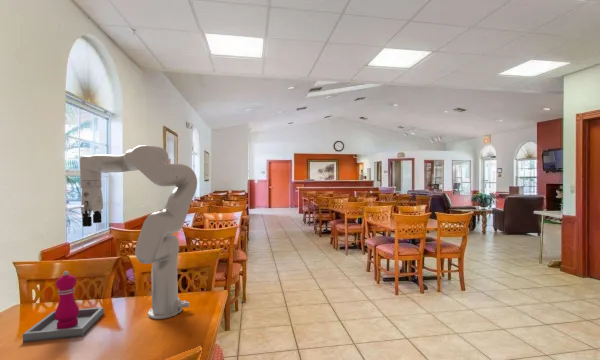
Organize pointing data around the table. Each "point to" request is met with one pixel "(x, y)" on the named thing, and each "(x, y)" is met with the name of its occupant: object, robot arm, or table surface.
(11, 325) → the table surface
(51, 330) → the serving tray
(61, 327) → the pepper mill
